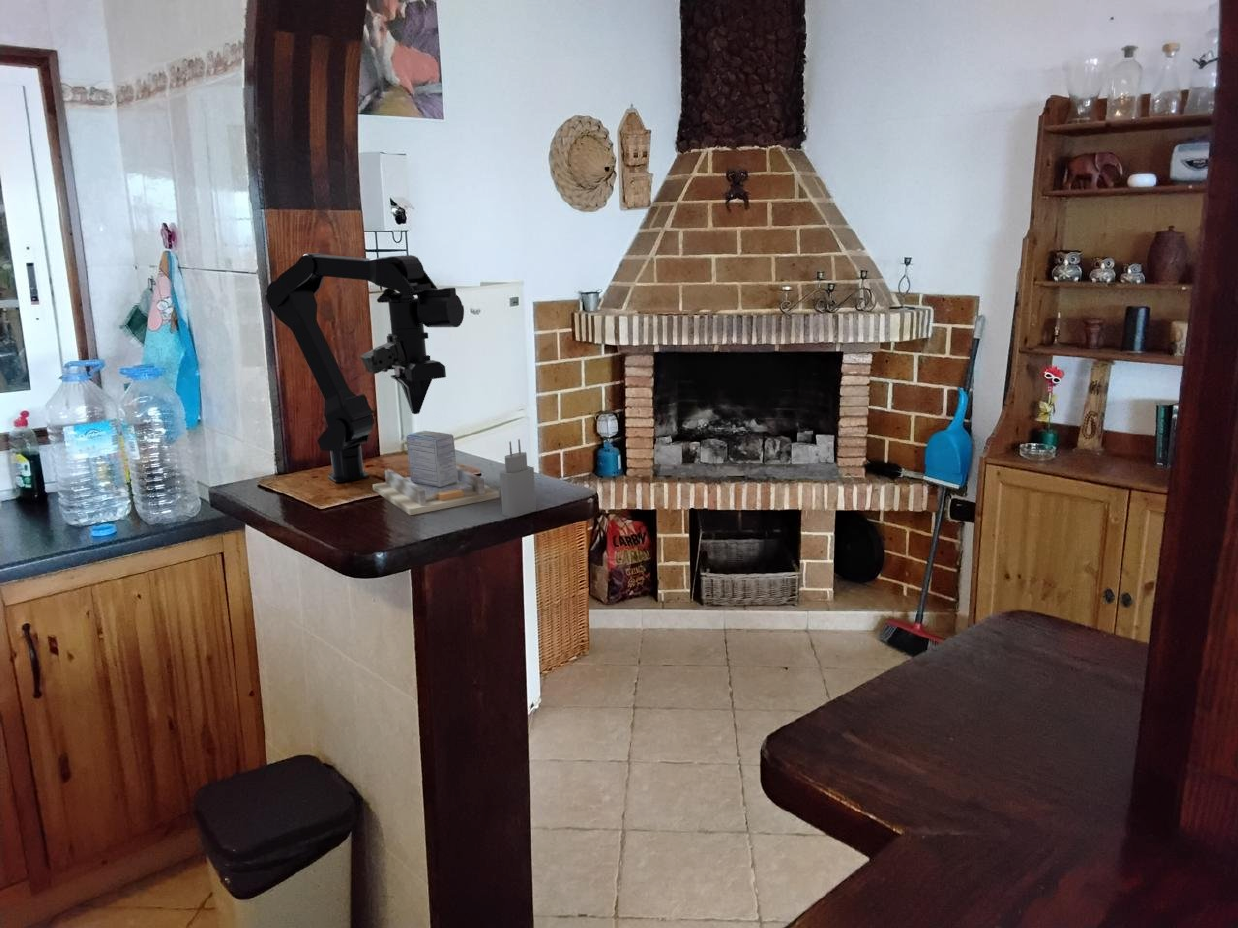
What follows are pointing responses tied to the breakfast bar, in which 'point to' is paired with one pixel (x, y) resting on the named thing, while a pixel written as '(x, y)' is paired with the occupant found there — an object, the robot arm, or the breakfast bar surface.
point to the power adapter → (517, 485)
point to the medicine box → (432, 458)
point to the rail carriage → (444, 490)
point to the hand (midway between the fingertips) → (415, 413)
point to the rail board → (414, 496)
